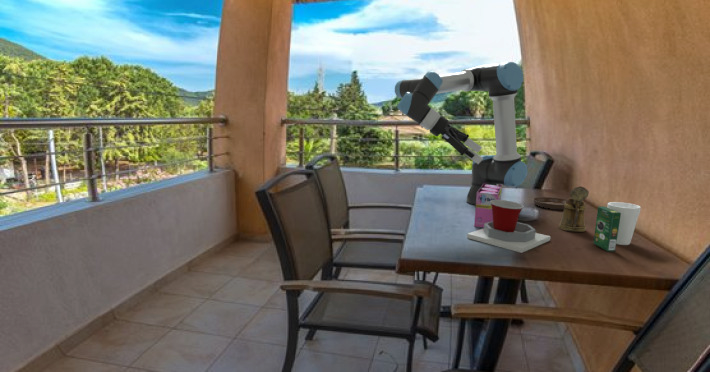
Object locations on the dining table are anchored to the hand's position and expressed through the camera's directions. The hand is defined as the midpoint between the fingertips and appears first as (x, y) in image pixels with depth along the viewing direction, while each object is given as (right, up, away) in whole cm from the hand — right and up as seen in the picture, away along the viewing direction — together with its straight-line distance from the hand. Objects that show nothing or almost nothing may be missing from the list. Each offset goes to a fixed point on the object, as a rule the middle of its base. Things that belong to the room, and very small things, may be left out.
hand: (480, 155), depth 156 cm
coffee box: (+34, -32, -21) cm, 51 cm away
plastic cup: (+4, -29, -15) cm, 33 cm away
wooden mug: (+34, -28, -1) cm, 44 cm away
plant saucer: (+46, -21, +39) cm, 64 cm away
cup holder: (+6, -30, -13) cm, 33 cm away
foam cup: (+43, -31, -14) cm, 55 cm away
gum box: (+6, -26, +11) cm, 29 cm away
